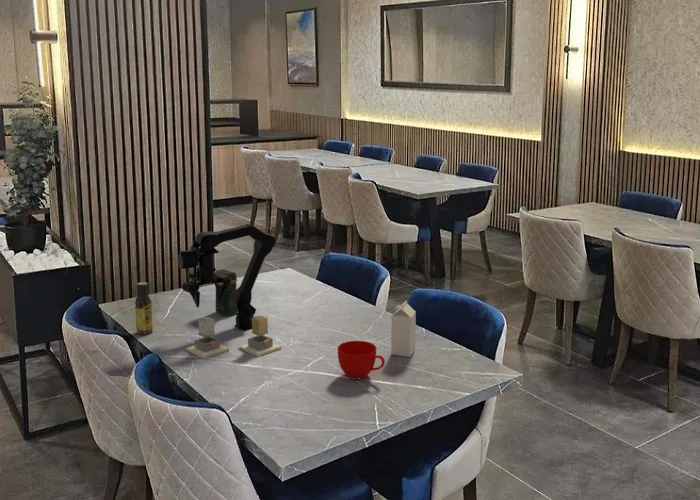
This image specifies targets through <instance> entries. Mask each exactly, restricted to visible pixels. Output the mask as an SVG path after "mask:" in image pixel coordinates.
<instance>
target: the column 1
mask: <svg viewBox="0 0 700 500" xmlns="http://www.w3.org/2000/svg"><path fill="white" fill-rule="evenodd" d="M197 320H198V335H199V336H201V337H202V338H203V337H205V338H206V337H210V336H211V337H214V336H216V332H215V319H214V318H211V317H209V316H206V317H202V318H198V319H197Z"/></svg>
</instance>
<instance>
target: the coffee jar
mask: <svg viewBox="0 0 700 500" xmlns="http://www.w3.org/2000/svg"><path fill="white" fill-rule="evenodd" d="M221 274H224V275H227V276H229V277H230V278H231V284H228V285H229V286H227V287H226V289H225V291H224V293H223V295H222V297H221V299H220V302H217V299H216V298H215V312H216V313H217V314H219V315H221V316H225V317H226V316H233V315H235V314H236V313H238V311H236V310H235V308H234V307H232V305H231V303H230V299H231V298H230V296H231V294H232V291H233V289H236V290H237V284H238V283H237V282H238V277H237V273H236V272H234V271H230V270H227V269H225V268H222V269H216V271H214V277H215V276H217V275H221Z"/></svg>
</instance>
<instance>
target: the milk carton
mask: <svg viewBox="0 0 700 500" xmlns="http://www.w3.org/2000/svg"><path fill="white" fill-rule="evenodd" d="M394 310H395V312H394V313H393V314H391V344H390V345H391V347H390V355H391V356H400V357H409V358H411V356H412V355H413V354H414V352H415V350H416V322H417V321H416V318H417V317H416V313H417V312H416V310H415V309H414V308H412V306H411V305H409V304H408V301H407V300H405V301H404V302H403V303H402V304H399V305H397V306H396V307H395V308H394Z"/></svg>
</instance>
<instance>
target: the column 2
mask: <svg viewBox="0 0 700 500" xmlns="http://www.w3.org/2000/svg"><path fill="white" fill-rule="evenodd" d="M268 323H269V322H268V317H266V316H264V315H257V316H254V317H253V318H252V328H251V334H253V335H254V336H261V335H265V336H266V335H268V334H269V330H268V329H269V327H268Z"/></svg>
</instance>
